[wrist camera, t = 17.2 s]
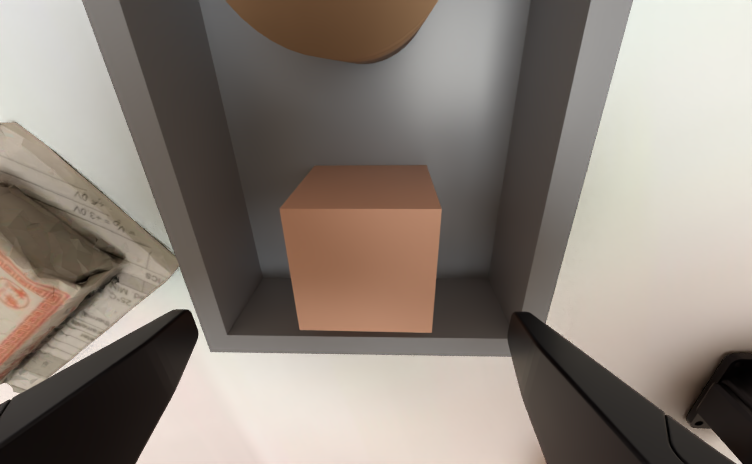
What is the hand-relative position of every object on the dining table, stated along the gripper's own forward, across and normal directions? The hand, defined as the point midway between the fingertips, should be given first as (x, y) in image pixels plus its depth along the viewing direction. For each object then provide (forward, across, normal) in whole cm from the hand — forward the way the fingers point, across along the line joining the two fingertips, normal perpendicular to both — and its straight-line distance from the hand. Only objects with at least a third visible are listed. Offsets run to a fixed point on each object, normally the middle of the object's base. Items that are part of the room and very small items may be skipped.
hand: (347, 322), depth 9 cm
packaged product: (+9, +21, +4) cm, 23 cm away
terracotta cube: (+7, 0, 0) cm, 7 cm away
